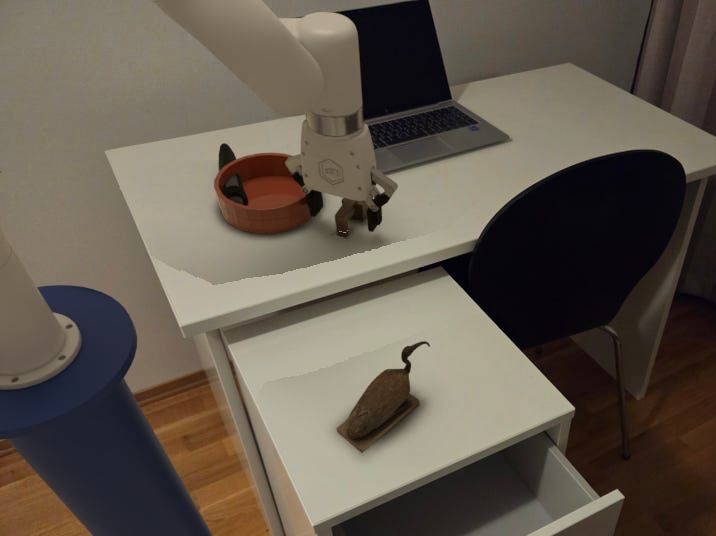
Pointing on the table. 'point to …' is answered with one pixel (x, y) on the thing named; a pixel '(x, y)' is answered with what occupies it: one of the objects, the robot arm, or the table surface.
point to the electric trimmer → (231, 178)
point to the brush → (350, 214)
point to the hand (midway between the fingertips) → (345, 219)
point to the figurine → (381, 405)
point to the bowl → (263, 194)
